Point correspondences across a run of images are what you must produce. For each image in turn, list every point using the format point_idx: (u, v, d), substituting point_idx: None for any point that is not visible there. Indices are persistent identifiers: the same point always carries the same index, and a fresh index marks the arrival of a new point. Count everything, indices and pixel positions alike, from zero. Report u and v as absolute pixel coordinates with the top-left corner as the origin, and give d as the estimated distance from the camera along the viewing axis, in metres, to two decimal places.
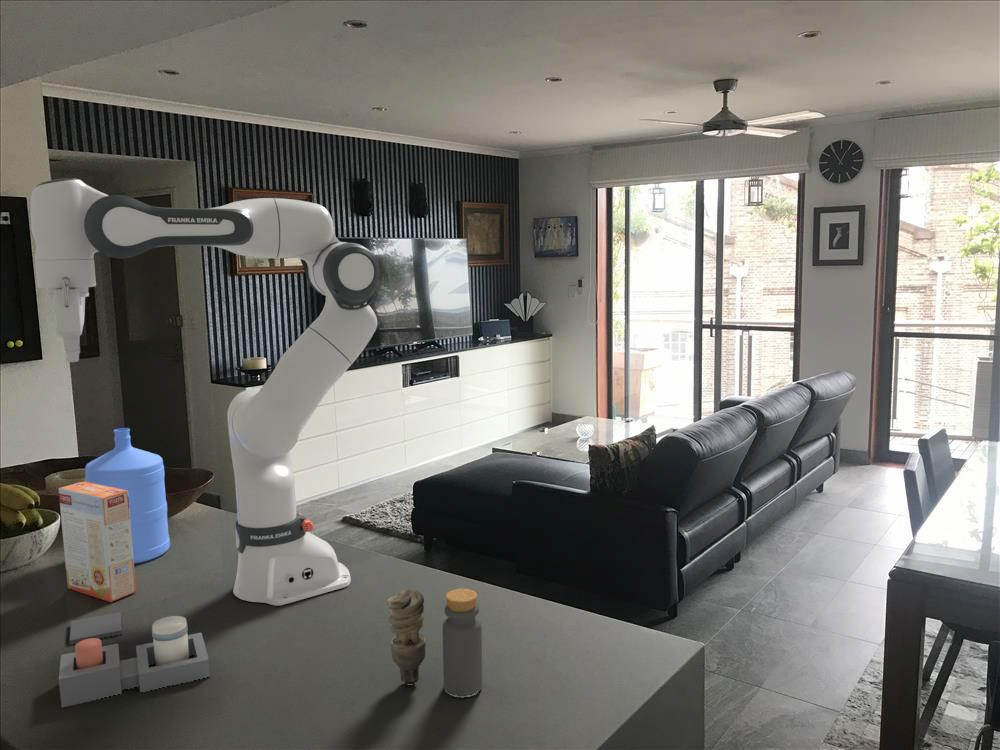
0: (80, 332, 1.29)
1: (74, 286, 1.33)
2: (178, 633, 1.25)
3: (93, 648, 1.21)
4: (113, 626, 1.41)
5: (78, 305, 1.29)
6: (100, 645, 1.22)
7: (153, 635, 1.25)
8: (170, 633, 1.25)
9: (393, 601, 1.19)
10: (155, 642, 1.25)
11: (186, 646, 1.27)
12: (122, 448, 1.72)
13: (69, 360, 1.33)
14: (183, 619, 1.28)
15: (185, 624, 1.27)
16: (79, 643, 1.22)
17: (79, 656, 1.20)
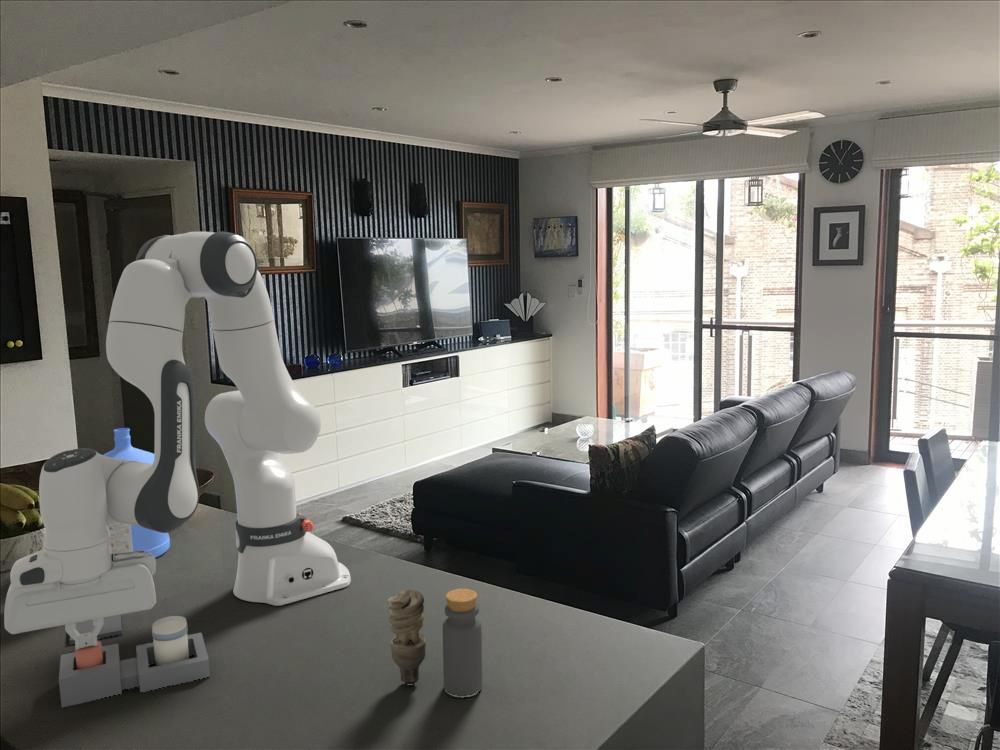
0: None
1: None
2: (178, 633, 1.25)
3: (93, 650, 1.21)
4: (113, 626, 1.41)
5: None
6: (100, 647, 1.22)
7: (153, 635, 1.25)
8: (170, 633, 1.25)
9: (393, 601, 1.19)
10: (155, 642, 1.25)
11: (186, 646, 1.27)
12: (122, 448, 1.72)
13: None
14: (183, 619, 1.28)
15: (185, 624, 1.27)
16: None
17: (80, 659, 1.20)
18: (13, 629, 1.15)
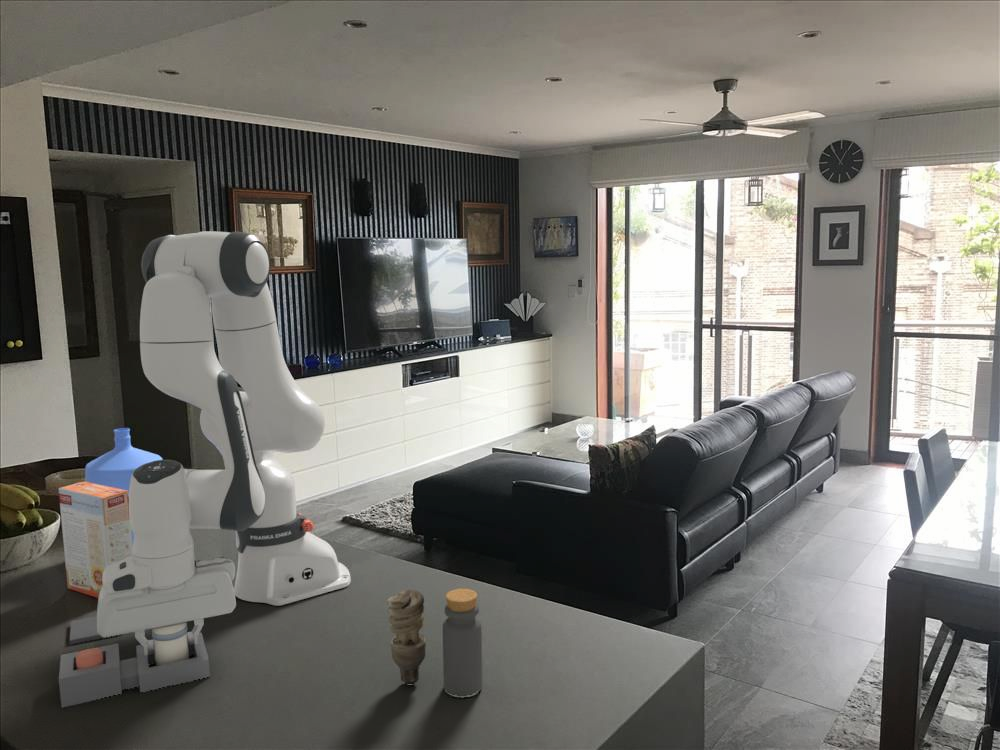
0: None
1: None
2: (178, 633, 1.25)
3: (94, 658, 1.21)
4: None
5: None
6: (101, 655, 1.22)
7: (153, 635, 1.25)
8: (169, 633, 1.25)
9: (393, 601, 1.19)
10: (155, 642, 1.25)
11: (186, 646, 1.27)
12: (122, 448, 1.72)
13: (197, 642, 1.29)
14: None
15: (185, 624, 1.27)
16: (80, 653, 1.22)
17: (80, 667, 1.21)
18: (105, 633, 1.21)
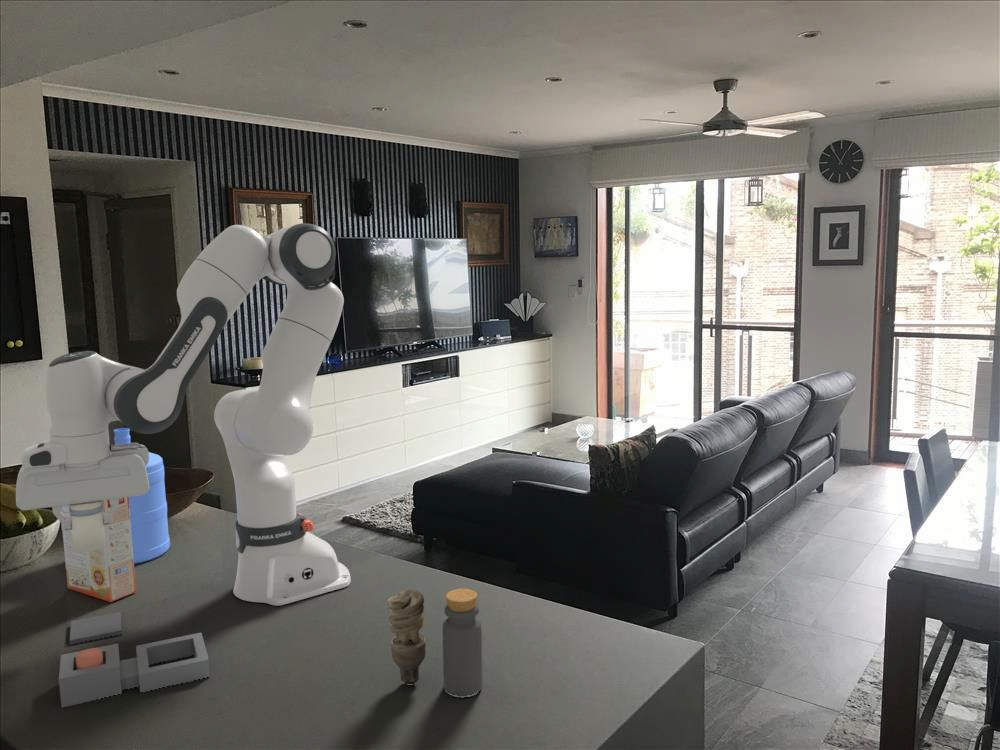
0: None
1: None
2: (93, 509, 1.36)
3: (94, 658, 1.21)
4: (113, 626, 1.41)
5: None
6: (101, 655, 1.22)
7: (70, 511, 1.36)
8: (85, 510, 1.35)
9: (393, 601, 1.19)
10: (72, 518, 1.36)
11: (101, 524, 1.38)
12: None
13: None
14: None
15: (100, 503, 1.38)
16: (80, 653, 1.22)
17: (80, 667, 1.21)
18: (23, 506, 1.32)
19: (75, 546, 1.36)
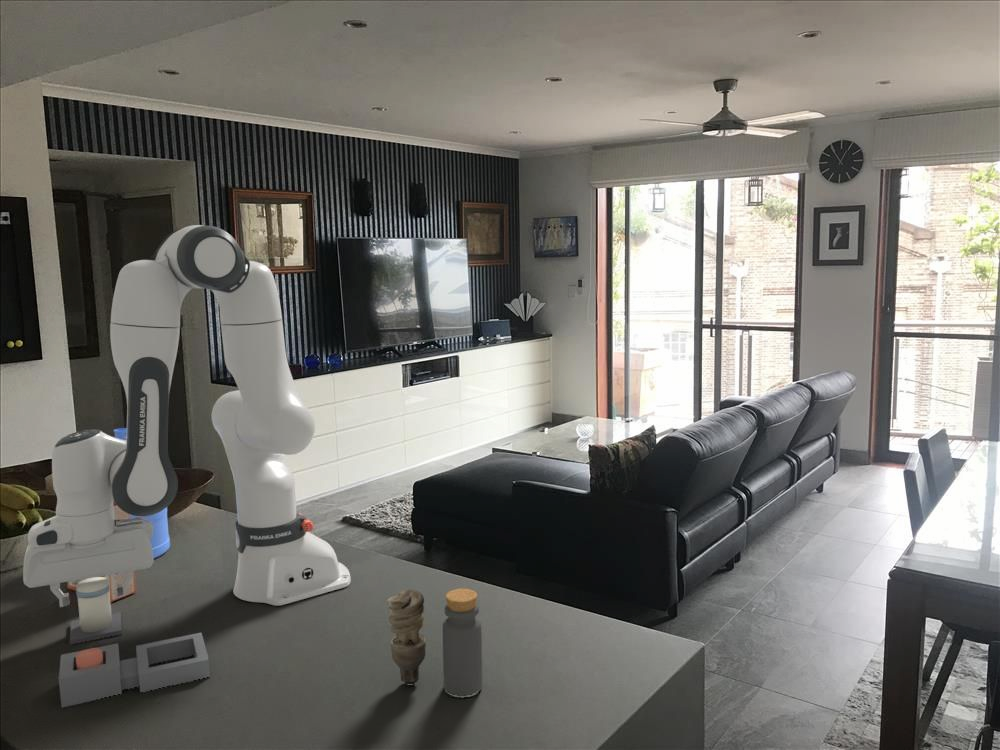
0: None
1: None
2: (99, 591, 1.39)
3: (94, 658, 1.21)
4: (113, 626, 1.41)
5: None
6: (101, 655, 1.22)
7: (77, 593, 1.39)
8: (91, 591, 1.38)
9: (393, 601, 1.19)
10: (79, 599, 1.39)
11: (108, 604, 1.41)
12: None
13: None
14: (105, 579, 1.42)
15: (107, 584, 1.41)
16: (80, 653, 1.22)
17: (80, 667, 1.21)
18: (31, 583, 1.35)
19: (82, 626, 1.39)
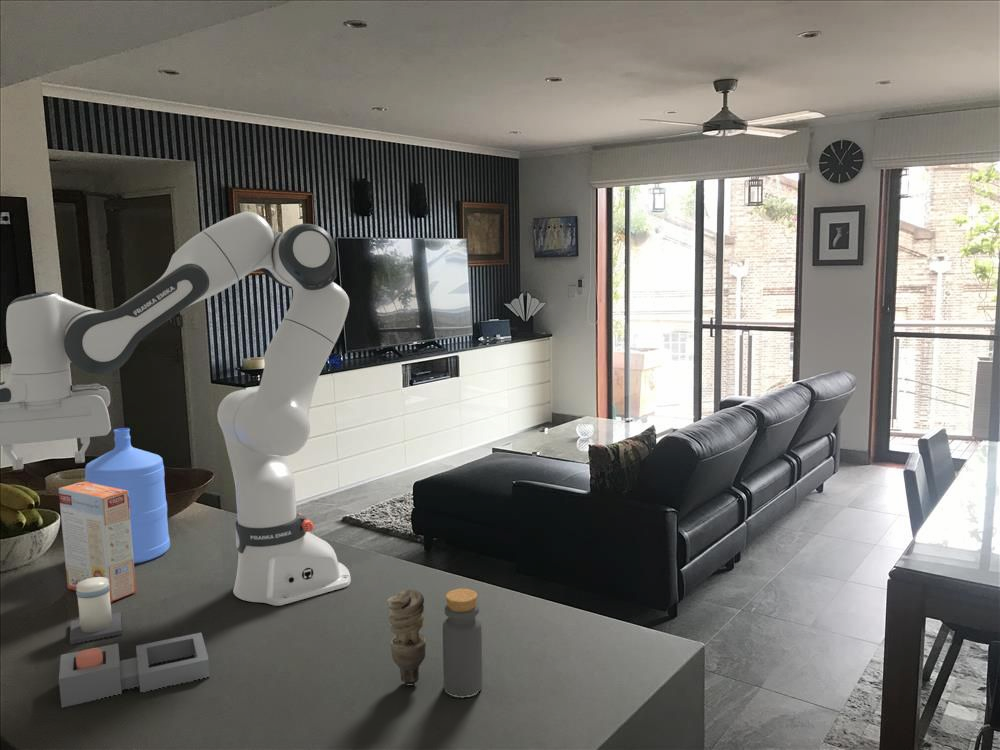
0: None
1: None
2: (99, 591, 1.39)
3: (94, 658, 1.21)
4: (113, 626, 1.41)
5: None
6: (101, 655, 1.22)
7: (77, 593, 1.39)
8: (91, 591, 1.38)
9: (393, 601, 1.19)
10: (79, 599, 1.39)
11: (108, 604, 1.41)
12: (122, 448, 1.72)
13: (84, 460, 1.42)
14: (105, 579, 1.42)
15: (107, 584, 1.41)
16: (80, 653, 1.22)
17: (80, 667, 1.21)
18: None
19: (82, 626, 1.39)
